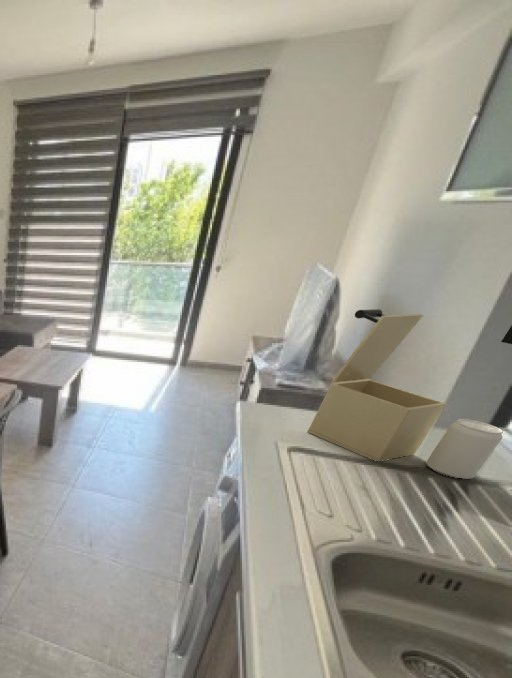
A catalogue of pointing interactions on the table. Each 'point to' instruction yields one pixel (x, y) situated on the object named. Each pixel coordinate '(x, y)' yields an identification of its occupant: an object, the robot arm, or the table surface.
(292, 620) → the table surface
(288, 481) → the table surface
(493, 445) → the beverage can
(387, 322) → the box lid
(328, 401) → the tan box
